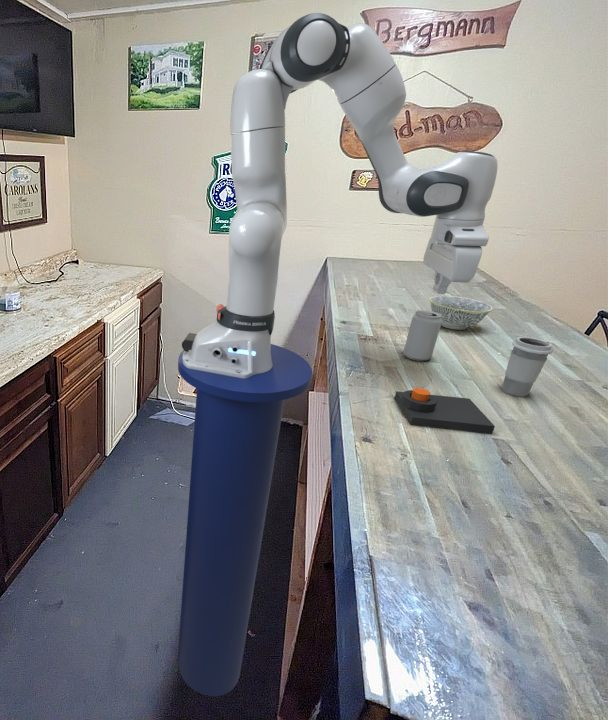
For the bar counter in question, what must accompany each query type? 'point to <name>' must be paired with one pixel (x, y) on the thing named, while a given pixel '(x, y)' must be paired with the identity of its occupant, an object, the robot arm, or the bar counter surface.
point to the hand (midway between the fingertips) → (438, 292)
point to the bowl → (459, 311)
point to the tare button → (420, 394)
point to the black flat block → (444, 413)
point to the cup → (525, 364)
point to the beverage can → (422, 335)
